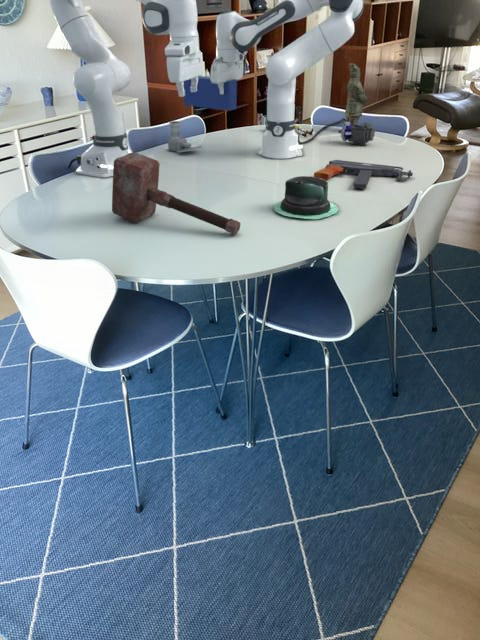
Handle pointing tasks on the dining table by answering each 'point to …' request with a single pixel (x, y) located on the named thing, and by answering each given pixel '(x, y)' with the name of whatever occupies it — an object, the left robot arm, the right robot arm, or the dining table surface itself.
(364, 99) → the statue
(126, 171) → the sledgehammer
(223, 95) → the box
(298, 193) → the green fedora hat
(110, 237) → the dining table surface
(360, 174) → the submachine gun
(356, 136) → the toy
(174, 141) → the grey boot
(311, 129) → the figurine
